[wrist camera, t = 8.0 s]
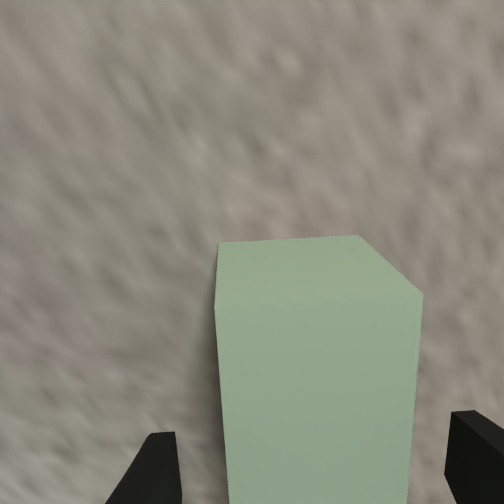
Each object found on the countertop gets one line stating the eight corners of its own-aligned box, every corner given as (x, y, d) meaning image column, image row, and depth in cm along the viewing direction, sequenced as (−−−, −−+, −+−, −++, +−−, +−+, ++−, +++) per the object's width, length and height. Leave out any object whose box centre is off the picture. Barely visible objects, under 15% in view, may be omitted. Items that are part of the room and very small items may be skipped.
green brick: (350, 458, 17) (399, 593, 12) (234, 467, 17) (237, 608, 12) (357, 233, 14) (423, 294, 9) (218, 241, 14) (214, 307, 9)
